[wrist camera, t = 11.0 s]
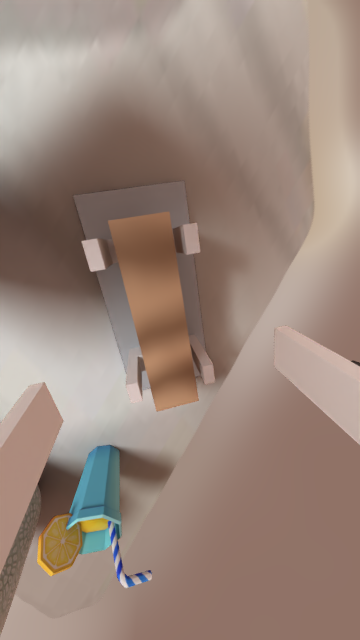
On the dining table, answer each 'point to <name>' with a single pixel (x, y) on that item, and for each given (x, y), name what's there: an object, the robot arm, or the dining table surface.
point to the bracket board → (104, 261)
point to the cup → (89, 519)
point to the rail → (156, 305)
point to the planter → (18, 556)
